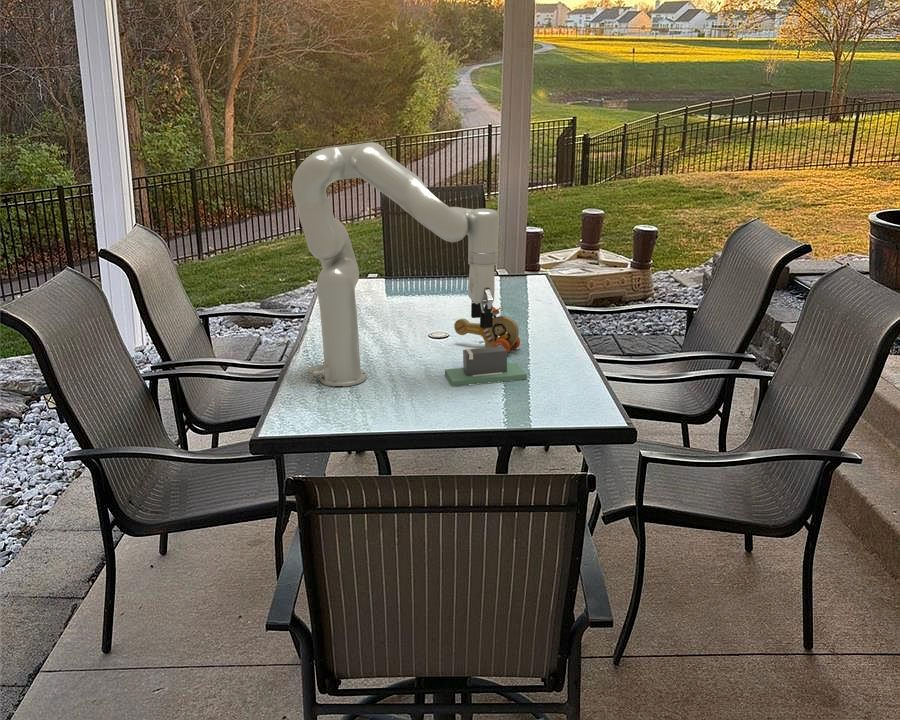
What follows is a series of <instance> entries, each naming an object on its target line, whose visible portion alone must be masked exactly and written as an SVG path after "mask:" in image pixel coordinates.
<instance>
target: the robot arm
mask: <svg viewBox="0 0 900 720" xmlns="http://www.w3.org/2000/svg"><path fill="white" fill-rule="evenodd" d="M357 178H359V179H362V180H363V181H365V182H366V183H368V184H369V185H370V186H372V187H373V188H375V189H376V190H378V191H380V193H382V194H383V195H384V196H386V197H387V198H389V200H392V201H393V202H394V203H396V205H398V206H399V207H400V208H401V209H402V210H404V211H405V212H406V213H408V215H410V216H411V217H412V218H414V220H416V221H417V222H418V223H420V224H421V226H424V227H425V228H426V229H427V230H429V231H431V232H432V233H433V234H434V235H435V236H436V237H437V236H438V238H440V239H442V240H443V241H446V242H449V243H457V242H459V241H461V240H463V239H464V238H465V237H466V236H468V244H467V245H468V247H467V248H468V251H467V253H468V255H467V261H468V263H467V264H468V265H469V271H468V272H469V274H468V286H467V290H468V291H467V296H468V297H469V299H470V300H471V304H470V305H471V307H470V308H471V310H470V312H471V313H470V316H471V318H472V319H479V323H480V327H481V328H492V326H493V307H494V305H493V303H494V302H495V292H496V290H495V283H496V282H495V266H497V265H498V261H499V259H498V256H499V253H498V252H499V248H498V247H499V222H500V221H499V220H500V219H499V213H498V211H497V210H496V209H493V208H492V209H491V208H475V209H474V208H465V207H460V206H449V205H447V204H445V202H443V201H442V200H440V199H439V198H438V197H436V195H435V194H433V193H432V192H431V191H430V190H429V189H428V188H427V186H426V185H425V183H424V182H423V180H422V179H421V178H420V177H419V176H418V175H417V174H415V173H414V172H413V171H411V170H410V169H408V168H407V167H405V165H403V164H401V163H400V162H398V161H397V159H394V158H393V157H392V156H391V155H389V154H388V153H387V151H386V148H384V146H382V145H381V144H379V143H377V142H372V141H371V142H364V143H358V144H357V143H356V144H348V145H342V146H341V145H339V146H332V147H325V148H322V149H319V150H316V151H314V152H313V153H312V154H310V155H309V156H307V157H306V158H305V159H304V160H303V161H302V162H301V163H300V165H299V166H298V167H297V168H296V170H295V172H294V175H293V178H292V182H291V183H292V185H291V187H292V188H291V190H292V197H293V200H294V205H295V207H296V210H297V213H298V217H299V222H300V224H301V227H302V231H303V234H304V238H305V242H306V246H307V248H308V251H309V252H310V254H311V255H312V256H313V257H314V258H316V259H318V260H319V262H320V265H321V268H322V269H321V270H320V272H319V275H318V276H317V281H316V294H317V297H318V304H319V305H318V306H319V312H320V314H319V315H320V325H321V334H322V349H323V361H322V364H319V366H307V375H312V376H313V377H315V376H316V377H317V376H319V381H320V383H322V385H325V386H329V387H335V386H343V387H350V386H355V385H359V384H361V383H363V382H364V381H366V380H367V378H368V376H367V375H368V374H367V371H366V370H363V369H362V368H361V354H360V353H361V352H360V338H359V326H358V325H359V324H358V322H359V321H358V312H357V311H358V309H357V301H356V286H357V283H358V282H359V278H360V270H359V265H358V262H357V259H356V258H357V257H356V256H355V252H354V247H353V245H352V241H351V238H350V235H349V232H348V230H347V228H346V227H345V225H344V224H343V223H342V221H340V220H339V219H337V218H335V216H334V213H333V209H332V204H331V202H330V199H329V196H328V193H327V188H328V186H330V185H331V184H332V183H335V182H336V181H340V180H351V179H357Z"/></svg>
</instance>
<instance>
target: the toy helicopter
mask: <svg viewBox="0 0 900 720" xmlns="http://www.w3.org/2000/svg"><path fill="white" fill-rule="evenodd" d="M504 308H505V307H504V306H501V307H499V308H496V307H495V306H493V326H492V328H481V327H480V322H479V323H478V322H471V321H469V320H468V319H466V318H459V319H456V320H455V322H454V324H453V326H454V327H453V328H454V331H455V332H456V333H457V335H459V336H465V335H467V334H472V335H477V336H480V337H481V338H482V339H483V341H484V342H485V346H484V348H490V347H501V346H503V347H504V348H505V349H506V350H507V355H508V354H509V353H510V351H513V350H516V349H518V348H519V347H520V345H521V340H520V339H521V338H520V337H519V333H520V332H519V330H520V329H519V326H518V324H517V322H516V321H515V320H514V319H513V318H511V317H509V316H503V315H499V314H500V313H501V312H500V310H503V309H504ZM497 315H498V316H497Z"/></svg>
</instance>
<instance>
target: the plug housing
mask: <svg viewBox="0 0 900 720" xmlns="http://www.w3.org/2000/svg"><path fill="white" fill-rule="evenodd" d="M462 359H463V360H462V368H463V371H464V373H465V374H466V376H471V375H480V374H490V373H500V372H502V373H503V372H507V363H508V354H507V350H506V349H505V348H504V347H503V346H501V347H490V348H486V347H479V348H466V349H463V350H462Z"/></svg>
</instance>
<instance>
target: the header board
mask: <svg viewBox="0 0 900 720" xmlns="http://www.w3.org/2000/svg"><path fill="white" fill-rule="evenodd" d="M527 374H528V373H526V372H525V370H523V368H521V366H520V365H519V364H518V363H517V362H509V363H508V362H507V372H503V373H502V372H500V373H490V374H480V375H471V376H466V374H465V373H464V371H463V367H457V368H445V369H444V376H445V377H446V379H447V380H448V382H449V384H450V383H451V384H450V386H451V387H452V386H453V387H454V386H456V387H463V386H462V385H467V386H470V385H469V384H477V383H487V384H489V383H488V382H497V383H499V382H498V381H507V382H512V381H511V380H517V381H523V380H522V379H528V378H527ZM477 385H478V384H477ZM453 387H452V388H453Z"/></svg>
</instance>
